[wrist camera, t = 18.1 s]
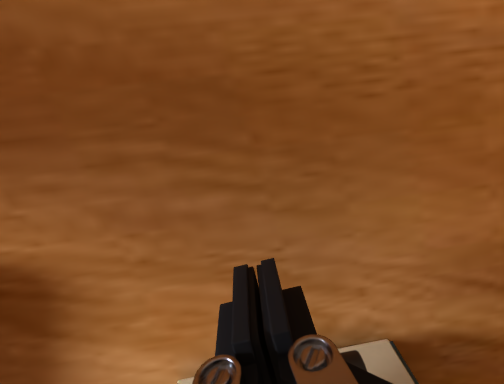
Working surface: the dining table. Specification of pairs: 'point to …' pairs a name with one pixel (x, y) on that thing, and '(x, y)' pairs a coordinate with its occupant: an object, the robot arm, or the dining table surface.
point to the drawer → (370, 361)
